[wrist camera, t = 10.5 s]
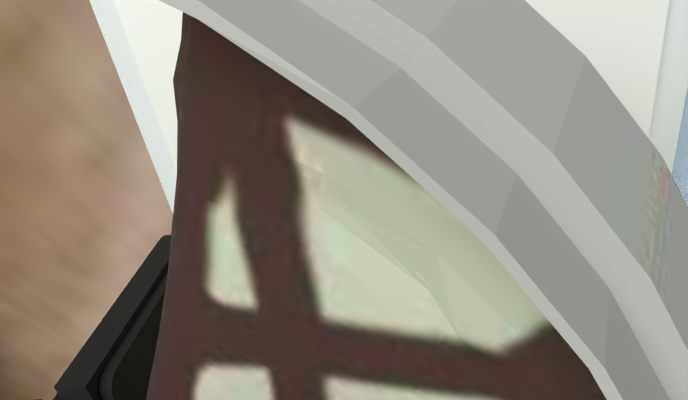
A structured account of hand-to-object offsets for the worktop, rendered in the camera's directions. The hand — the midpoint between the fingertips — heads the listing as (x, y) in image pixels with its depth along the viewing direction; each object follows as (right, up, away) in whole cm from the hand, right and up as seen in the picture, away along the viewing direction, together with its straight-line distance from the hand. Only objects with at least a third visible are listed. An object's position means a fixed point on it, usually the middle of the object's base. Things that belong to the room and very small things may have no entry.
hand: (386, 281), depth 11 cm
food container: (+3, +2, +3) cm, 4 cm away
